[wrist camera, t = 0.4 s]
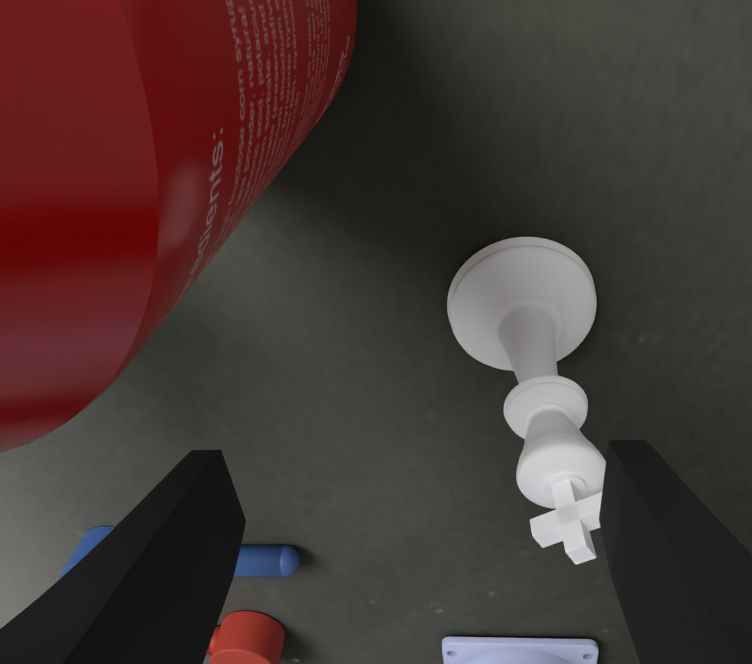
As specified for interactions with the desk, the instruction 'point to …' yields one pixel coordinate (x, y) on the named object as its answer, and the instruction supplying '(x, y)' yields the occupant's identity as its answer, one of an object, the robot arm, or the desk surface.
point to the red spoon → (247, 639)
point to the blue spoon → (248, 565)
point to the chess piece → (537, 374)
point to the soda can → (135, 169)
